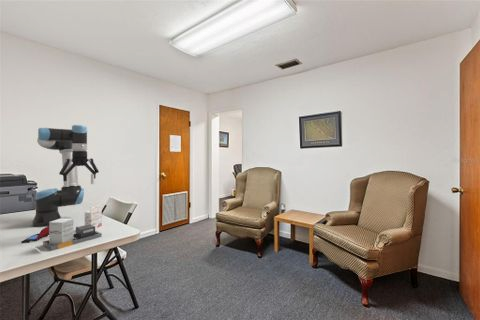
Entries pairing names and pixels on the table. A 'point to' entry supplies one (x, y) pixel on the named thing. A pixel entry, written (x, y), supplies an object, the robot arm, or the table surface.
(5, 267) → the table surface
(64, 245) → the rack
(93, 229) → the dark grey box
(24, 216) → the table surface
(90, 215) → the ink cartridge box
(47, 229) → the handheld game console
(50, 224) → the supplement box
